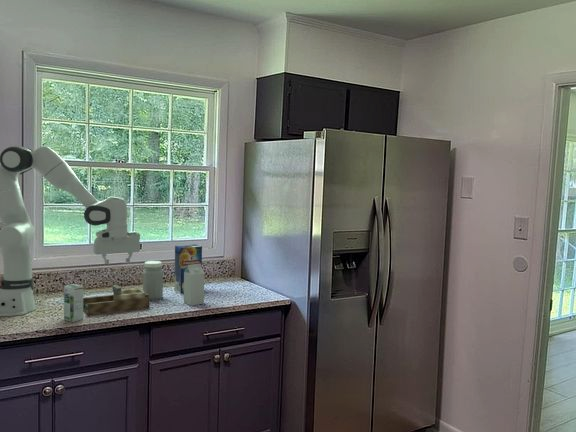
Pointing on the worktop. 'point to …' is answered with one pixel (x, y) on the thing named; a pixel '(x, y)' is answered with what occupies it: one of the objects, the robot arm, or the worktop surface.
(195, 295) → the milk carton
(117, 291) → the drawer
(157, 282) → the jar
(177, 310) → the worktop surface
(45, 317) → the worktop surface
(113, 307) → the bay
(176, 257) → the juice carton
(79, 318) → the syrup box
